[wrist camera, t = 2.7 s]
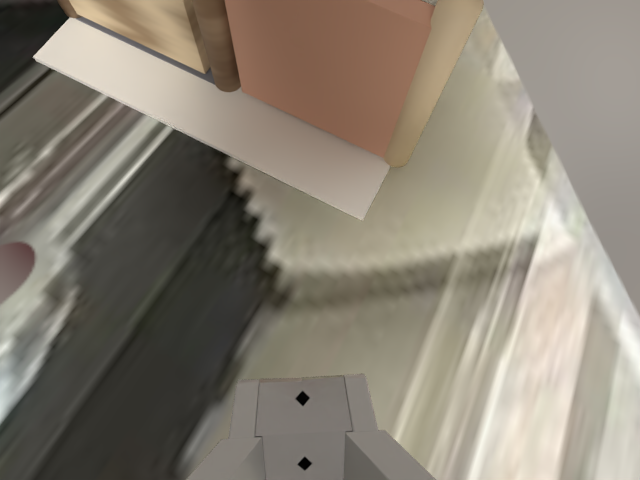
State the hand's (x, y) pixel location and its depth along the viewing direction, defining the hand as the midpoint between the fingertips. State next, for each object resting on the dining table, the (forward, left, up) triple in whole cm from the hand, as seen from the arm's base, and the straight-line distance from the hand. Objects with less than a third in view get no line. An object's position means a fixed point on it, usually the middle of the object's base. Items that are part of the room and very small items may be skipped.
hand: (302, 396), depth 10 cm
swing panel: (-7, +16, -14) cm, 22 cm away
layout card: (-14, +19, -15) cm, 28 cm away
